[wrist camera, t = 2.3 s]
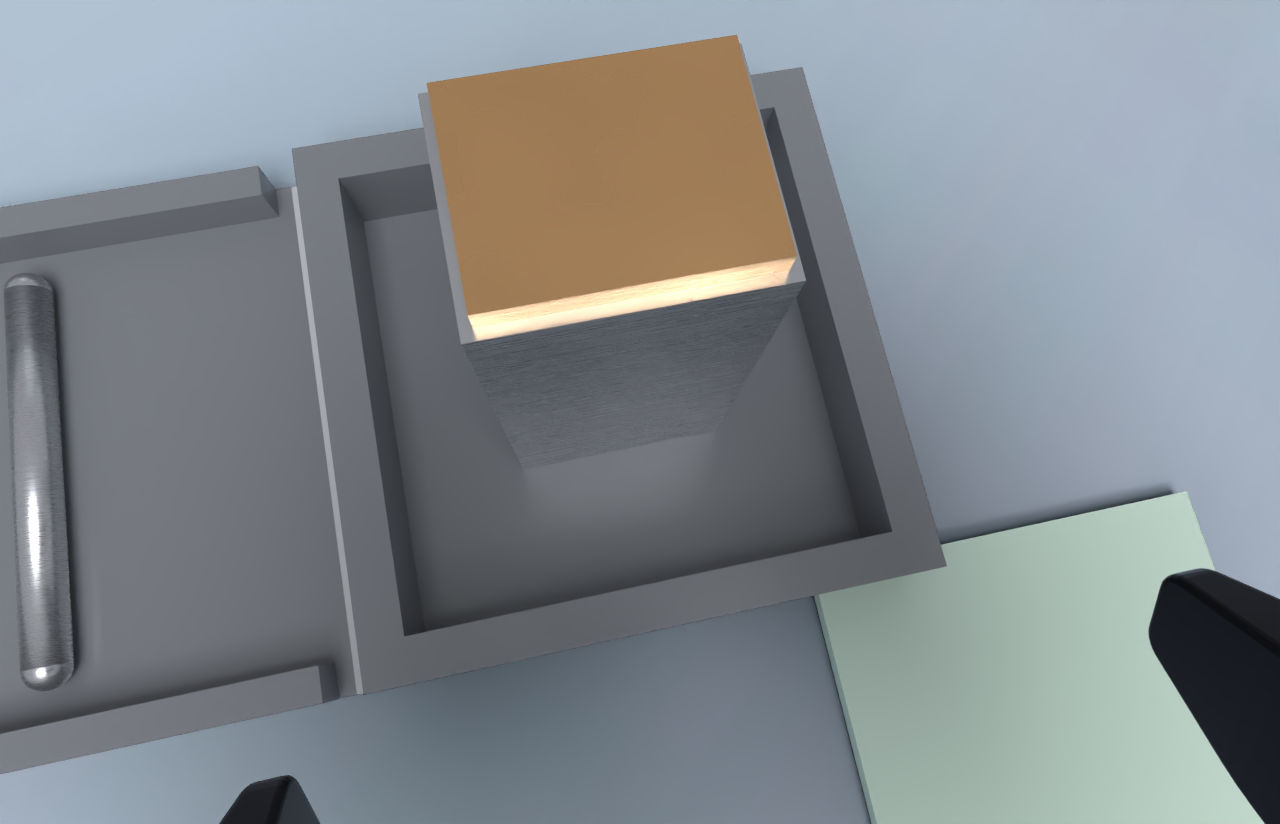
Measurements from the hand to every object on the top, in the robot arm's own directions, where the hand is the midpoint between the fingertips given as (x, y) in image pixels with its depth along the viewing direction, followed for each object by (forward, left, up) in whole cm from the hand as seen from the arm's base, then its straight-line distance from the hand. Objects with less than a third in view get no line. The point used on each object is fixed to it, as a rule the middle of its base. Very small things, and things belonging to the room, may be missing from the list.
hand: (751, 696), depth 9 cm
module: (+7, 0, -12) cm, 14 cm away
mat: (-4, -9, -13) cm, 16 cm away
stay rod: (+7, +13, -13) cm, 20 cm away
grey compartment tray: (+7, +7, -13) cm, 16 cm away
